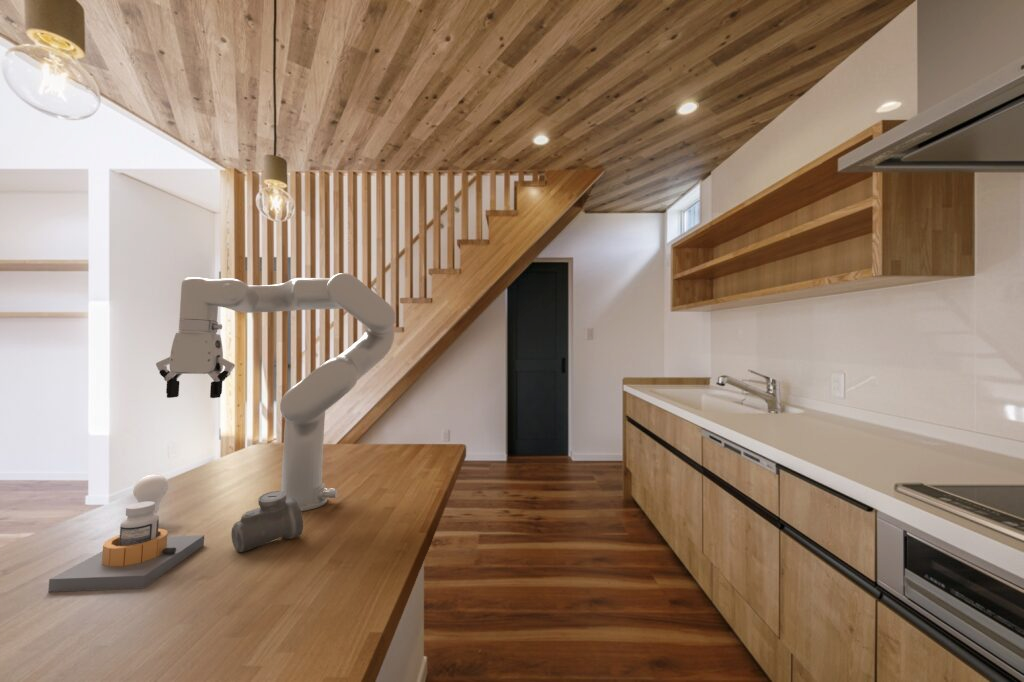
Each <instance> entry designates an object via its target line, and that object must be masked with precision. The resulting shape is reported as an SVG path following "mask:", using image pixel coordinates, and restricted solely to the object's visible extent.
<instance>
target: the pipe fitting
mask: <svg viewBox="0 0 1024 682" xmlns="http://www.w3.org/2000/svg"><path fill="white" fill-rule="evenodd" d="M257 501H258V505H259V507H258V508H255V509H251V510H248V511H245V513H243V514H242V515H241V517H240V520H238V521H236V522H235V523H234V524H233V526H232V528H231V531H230V532H231V534H230V535H231V541H232V545H233V547H234V548H235V550H236V551H237V552H238V553H245V552H247V551H249V550H251V549H255V548H258V547H259V546H262V545H265V544H267V543H270V542H271V541H275V540H278V539H280V538H284V539H288V540H290V539H295V538H297V537H300V536H301V535H302V534H303V530H304V519H303V513H302V512H303V511H301V509H300V506H299V504H298V503H297V501H296V500H295V499H293V498H290V499H288V500H286V493H285V492H284V491H281V490H274V491H273V490H272V491H269V492H266V493H263V494H262V495H261V496H260V497H258V500H257Z"/></svg>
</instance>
